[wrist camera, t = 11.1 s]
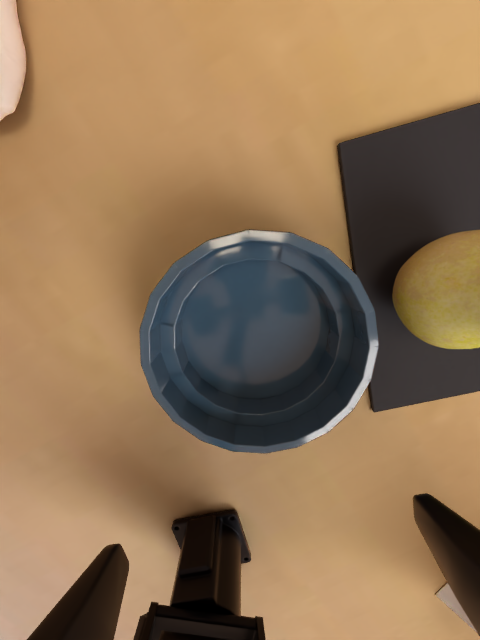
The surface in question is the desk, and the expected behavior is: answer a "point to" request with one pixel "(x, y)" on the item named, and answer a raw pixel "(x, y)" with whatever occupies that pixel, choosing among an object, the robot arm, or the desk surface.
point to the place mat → (411, 240)
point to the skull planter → (10, 58)
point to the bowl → (258, 341)
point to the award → (453, 603)
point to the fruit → (442, 292)
